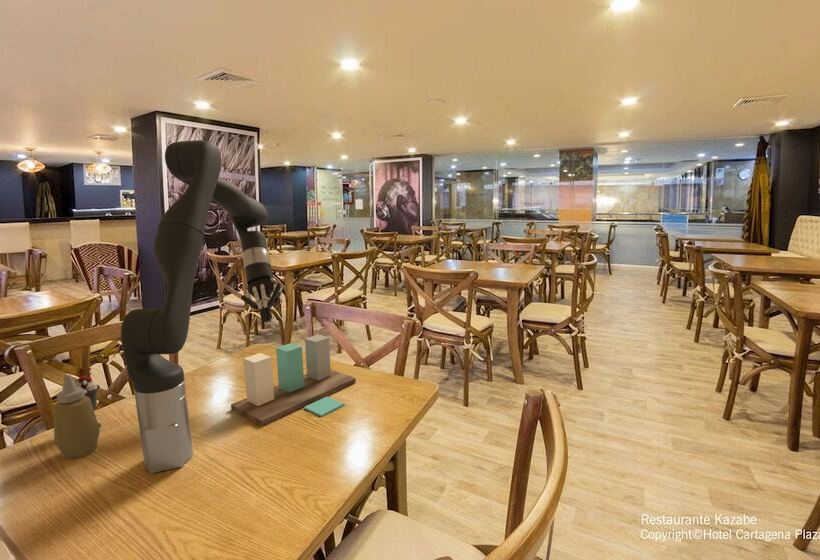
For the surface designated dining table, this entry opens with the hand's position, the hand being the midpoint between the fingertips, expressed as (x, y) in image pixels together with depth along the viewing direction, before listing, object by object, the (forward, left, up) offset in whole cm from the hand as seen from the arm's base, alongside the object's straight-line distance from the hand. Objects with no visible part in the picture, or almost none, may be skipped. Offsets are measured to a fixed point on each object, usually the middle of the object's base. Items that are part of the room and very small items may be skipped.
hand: (267, 321), depth 128 cm
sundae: (-8, +44, -20) cm, 49 cm away
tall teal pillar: (-7, -5, -18) cm, 20 cm away
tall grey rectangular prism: (-2, -14, -18) cm, 23 cm away
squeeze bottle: (-19, +42, -20) cm, 51 cm away
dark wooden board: (-9, -6, -20) cm, 23 cm away
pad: (-19, -12, -20) cm, 30 cm away
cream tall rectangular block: (-12, +4, -18) cm, 22 cm away
